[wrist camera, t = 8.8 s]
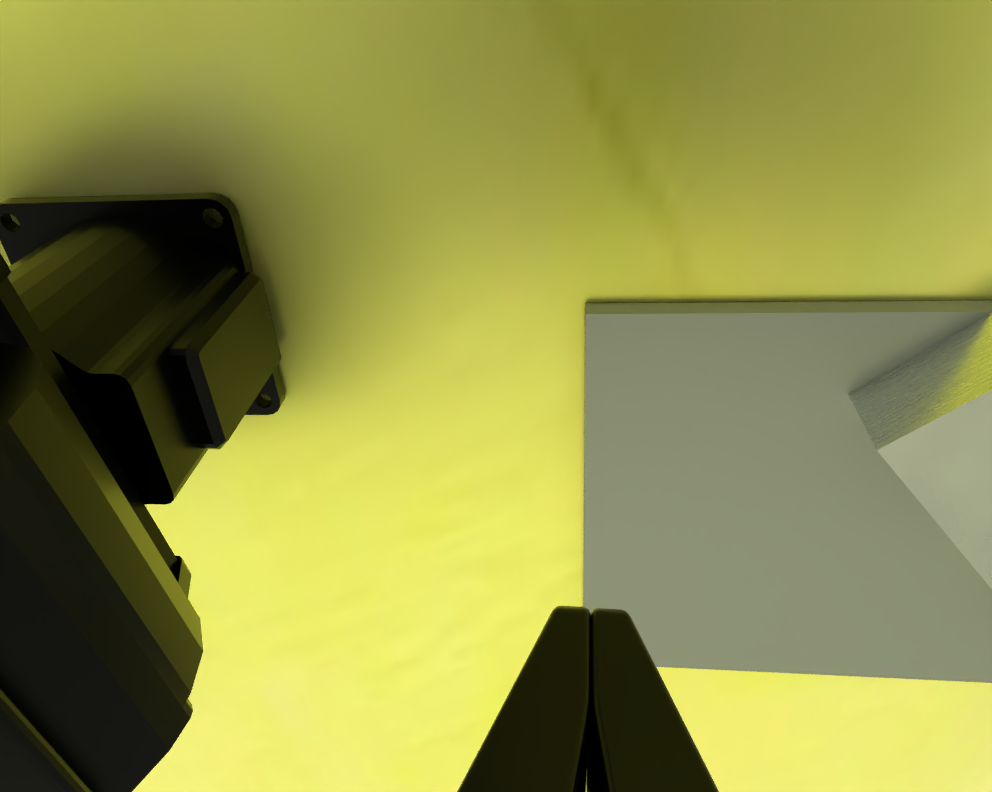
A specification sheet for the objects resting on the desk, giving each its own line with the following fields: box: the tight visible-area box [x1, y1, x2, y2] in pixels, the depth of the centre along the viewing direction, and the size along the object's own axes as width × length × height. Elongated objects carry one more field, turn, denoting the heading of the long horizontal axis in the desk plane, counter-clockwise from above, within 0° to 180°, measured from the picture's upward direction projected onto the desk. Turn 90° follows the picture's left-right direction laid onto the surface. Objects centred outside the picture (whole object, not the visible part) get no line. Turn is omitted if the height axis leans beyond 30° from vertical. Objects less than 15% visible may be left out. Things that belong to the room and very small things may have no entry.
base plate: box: [584, 300, 992, 683], centre depth 21 cm, size 18×14×3 cm
